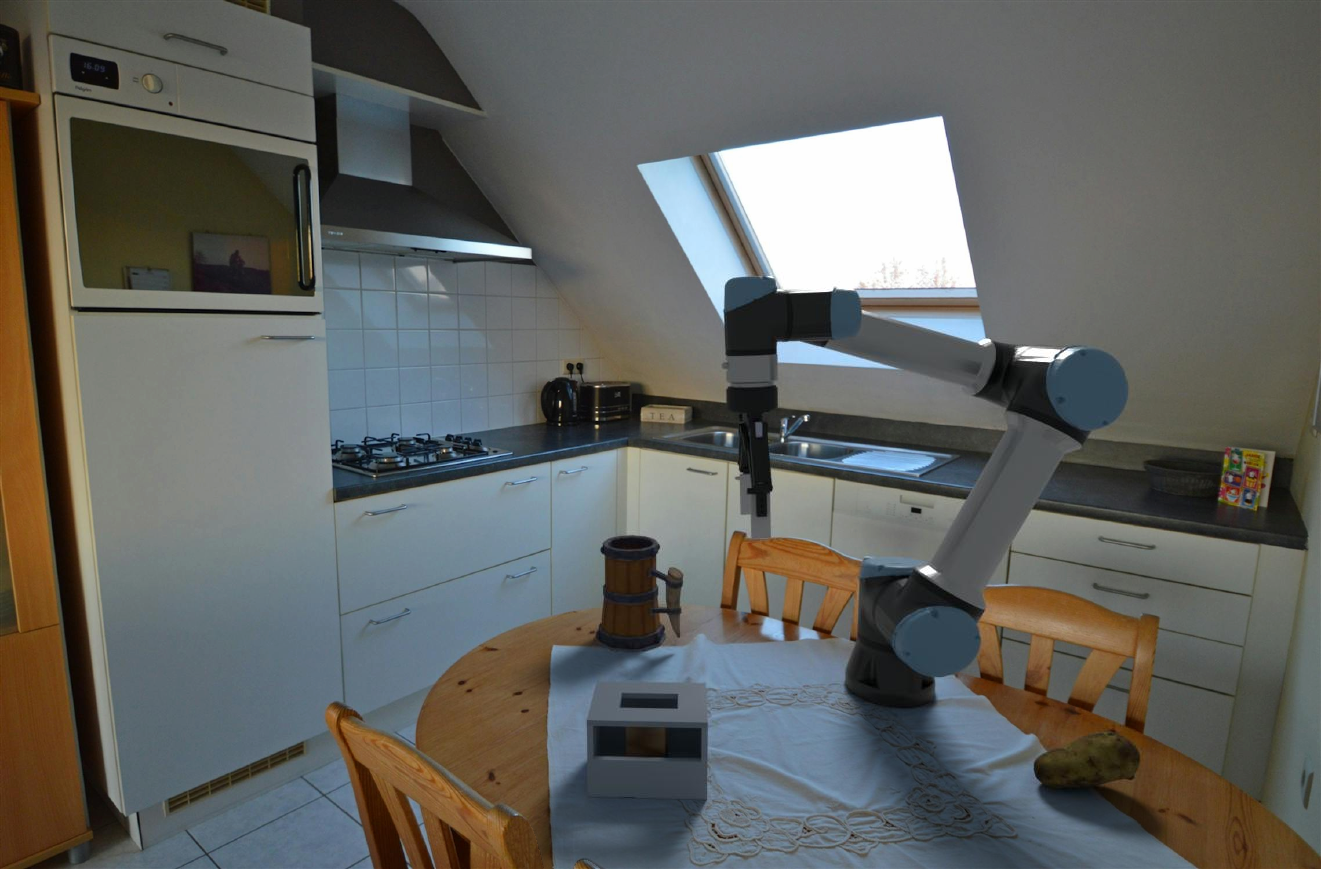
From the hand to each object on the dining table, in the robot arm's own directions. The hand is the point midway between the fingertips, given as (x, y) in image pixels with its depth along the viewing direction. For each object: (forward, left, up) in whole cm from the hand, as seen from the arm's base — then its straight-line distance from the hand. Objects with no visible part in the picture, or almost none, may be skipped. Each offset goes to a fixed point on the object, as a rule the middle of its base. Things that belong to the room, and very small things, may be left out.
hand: (754, 525), depth 111 cm
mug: (+19, -33, -33) cm, 51 cm away
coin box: (+15, +12, -33) cm, 38 cm away
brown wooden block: (+16, +12, -32) cm, 38 cm away
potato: (-45, +13, -33) cm, 57 cm away
